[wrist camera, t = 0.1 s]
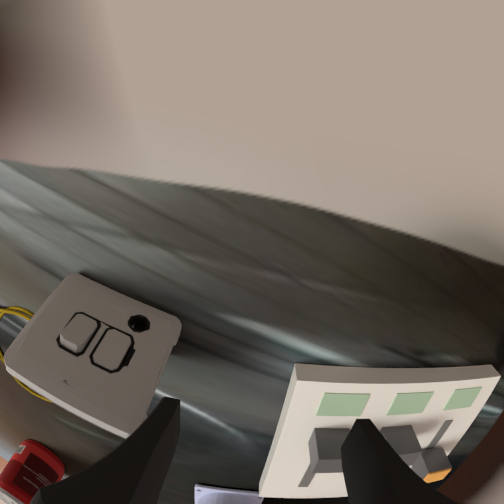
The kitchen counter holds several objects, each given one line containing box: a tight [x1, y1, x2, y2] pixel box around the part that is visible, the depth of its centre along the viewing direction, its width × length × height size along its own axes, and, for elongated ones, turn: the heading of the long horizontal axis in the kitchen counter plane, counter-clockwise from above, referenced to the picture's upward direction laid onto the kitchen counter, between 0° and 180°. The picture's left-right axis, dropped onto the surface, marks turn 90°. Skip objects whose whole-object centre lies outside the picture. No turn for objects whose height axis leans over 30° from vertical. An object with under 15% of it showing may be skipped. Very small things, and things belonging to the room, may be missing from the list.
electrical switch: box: [3, 273, 182, 439], centre depth 18 cm, size 9×5×9 cm, turn 69°
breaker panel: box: [259, 363, 501, 498], centre depth 22 cm, size 18×20×5 cm
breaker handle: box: [412, 447, 452, 483], centre depth 21 cm, size 2×3×3 cm, turn 83°
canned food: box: [0, 439, 65, 504], centre depth 25 cm, size 8×8×11 cm
